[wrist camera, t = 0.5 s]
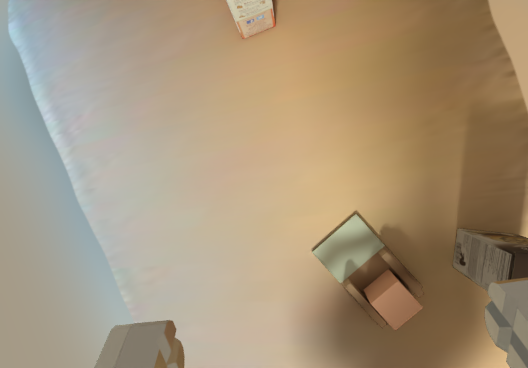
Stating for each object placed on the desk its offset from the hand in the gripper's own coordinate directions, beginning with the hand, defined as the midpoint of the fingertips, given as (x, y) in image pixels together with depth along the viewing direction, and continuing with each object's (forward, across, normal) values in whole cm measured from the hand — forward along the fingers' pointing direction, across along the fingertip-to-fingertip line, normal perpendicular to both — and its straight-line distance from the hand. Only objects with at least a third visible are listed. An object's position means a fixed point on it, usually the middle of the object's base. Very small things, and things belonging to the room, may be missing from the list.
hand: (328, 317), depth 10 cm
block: (+37, +12, -37) cm, 54 cm away
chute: (+39, +10, -34) cm, 53 cm away
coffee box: (+39, +27, -33) cm, 58 cm away
